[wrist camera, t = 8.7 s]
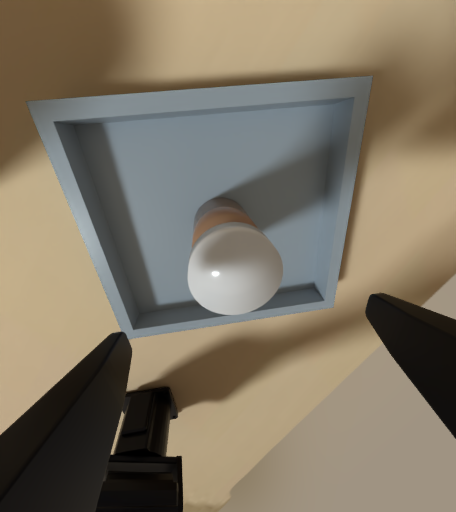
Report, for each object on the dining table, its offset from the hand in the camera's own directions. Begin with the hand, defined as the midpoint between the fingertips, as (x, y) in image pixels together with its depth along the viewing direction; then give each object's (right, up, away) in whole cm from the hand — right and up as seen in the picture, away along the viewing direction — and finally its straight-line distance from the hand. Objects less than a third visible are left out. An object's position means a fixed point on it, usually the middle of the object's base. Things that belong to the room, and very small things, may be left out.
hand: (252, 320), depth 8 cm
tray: (-2, +5, +11) cm, 13 cm away
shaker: (-1, +5, +10) cm, 12 cm away
